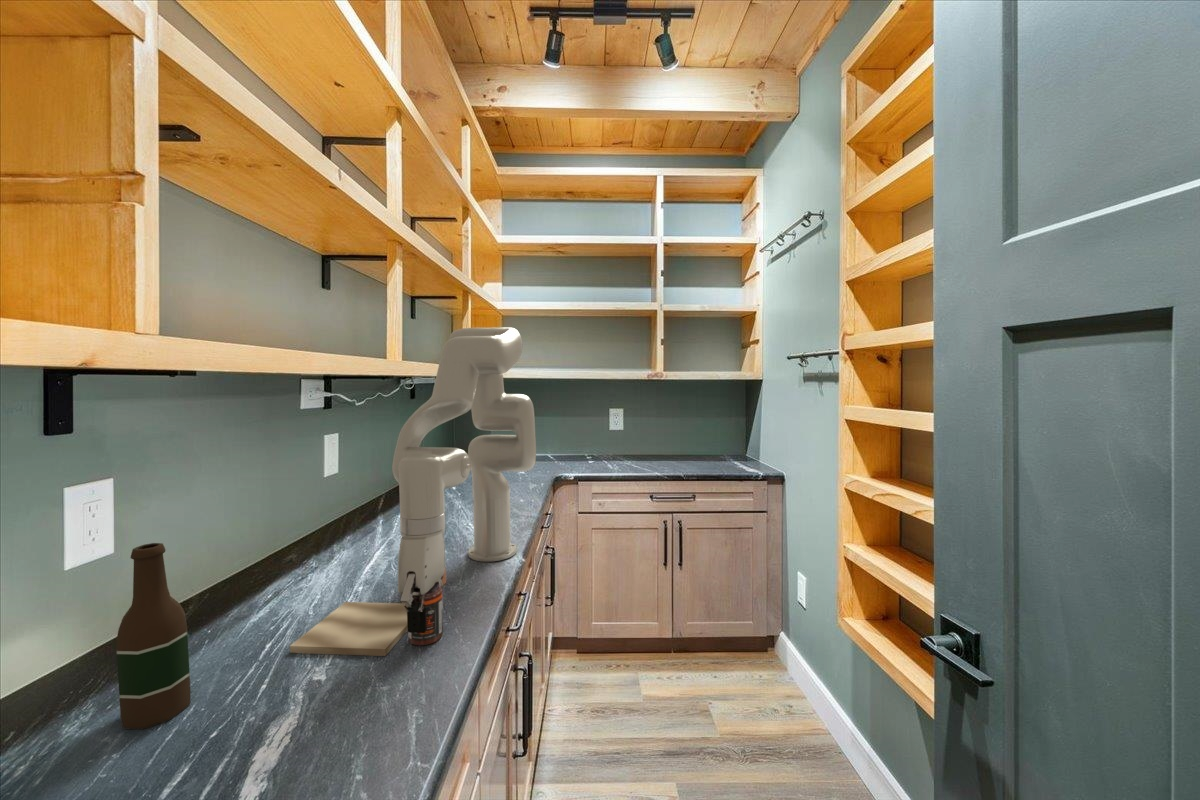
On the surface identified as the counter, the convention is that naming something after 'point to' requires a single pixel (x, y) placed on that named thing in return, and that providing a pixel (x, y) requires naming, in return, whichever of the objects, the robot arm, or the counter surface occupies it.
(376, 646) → the birch board
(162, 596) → the beer bottle
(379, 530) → the counter surface
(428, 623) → the supplement bottle
